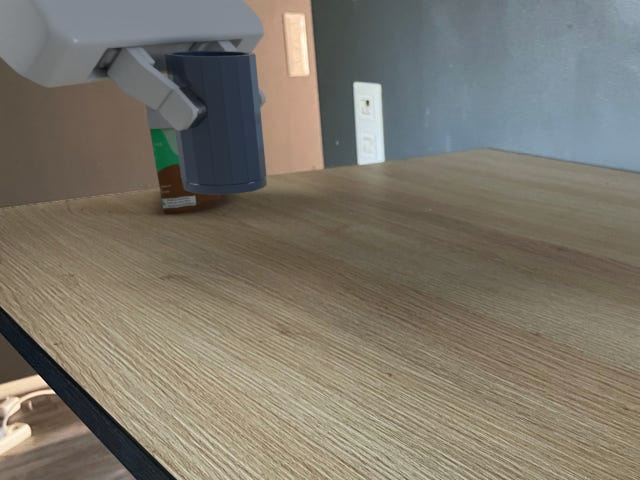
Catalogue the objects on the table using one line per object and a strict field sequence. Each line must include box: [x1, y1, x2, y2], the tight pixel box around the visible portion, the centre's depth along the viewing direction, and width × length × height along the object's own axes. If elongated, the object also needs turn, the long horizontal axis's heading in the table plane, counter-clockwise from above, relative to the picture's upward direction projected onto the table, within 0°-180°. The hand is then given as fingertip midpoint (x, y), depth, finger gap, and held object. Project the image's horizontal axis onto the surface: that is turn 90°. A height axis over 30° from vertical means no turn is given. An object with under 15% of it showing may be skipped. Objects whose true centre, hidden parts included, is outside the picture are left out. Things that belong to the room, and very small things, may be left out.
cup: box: [165, 51, 268, 196], centre depth 50 cm, size 5×5×8 cm
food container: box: [145, 105, 222, 216], centre depth 75 cm, size 12×6×10 cm, turn 16°
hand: (226, 115), depth 49 cm, fingers closed on cup, 5 cm apart
